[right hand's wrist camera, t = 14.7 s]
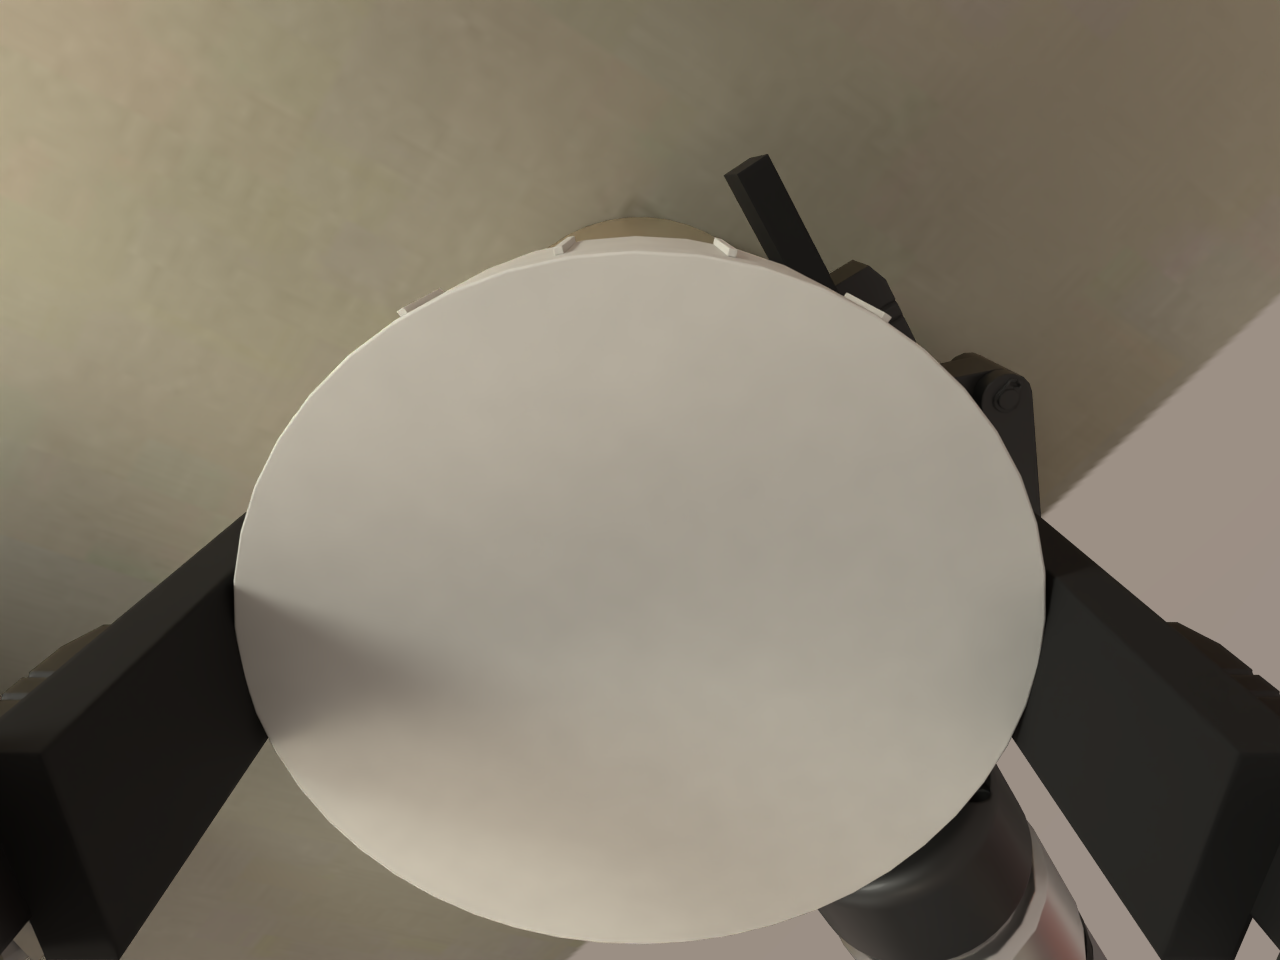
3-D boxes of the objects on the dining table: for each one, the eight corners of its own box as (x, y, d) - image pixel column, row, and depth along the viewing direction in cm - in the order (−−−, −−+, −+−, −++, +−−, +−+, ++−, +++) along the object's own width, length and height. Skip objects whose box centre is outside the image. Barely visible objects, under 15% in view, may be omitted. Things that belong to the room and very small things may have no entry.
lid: (790, 889, 15) (817, 1016, 13) (246, 728, 13) (166, 837, 11) (1110, 404, 11) (1228, 460, 9) (404, 103, 10) (333, 77, 7)
